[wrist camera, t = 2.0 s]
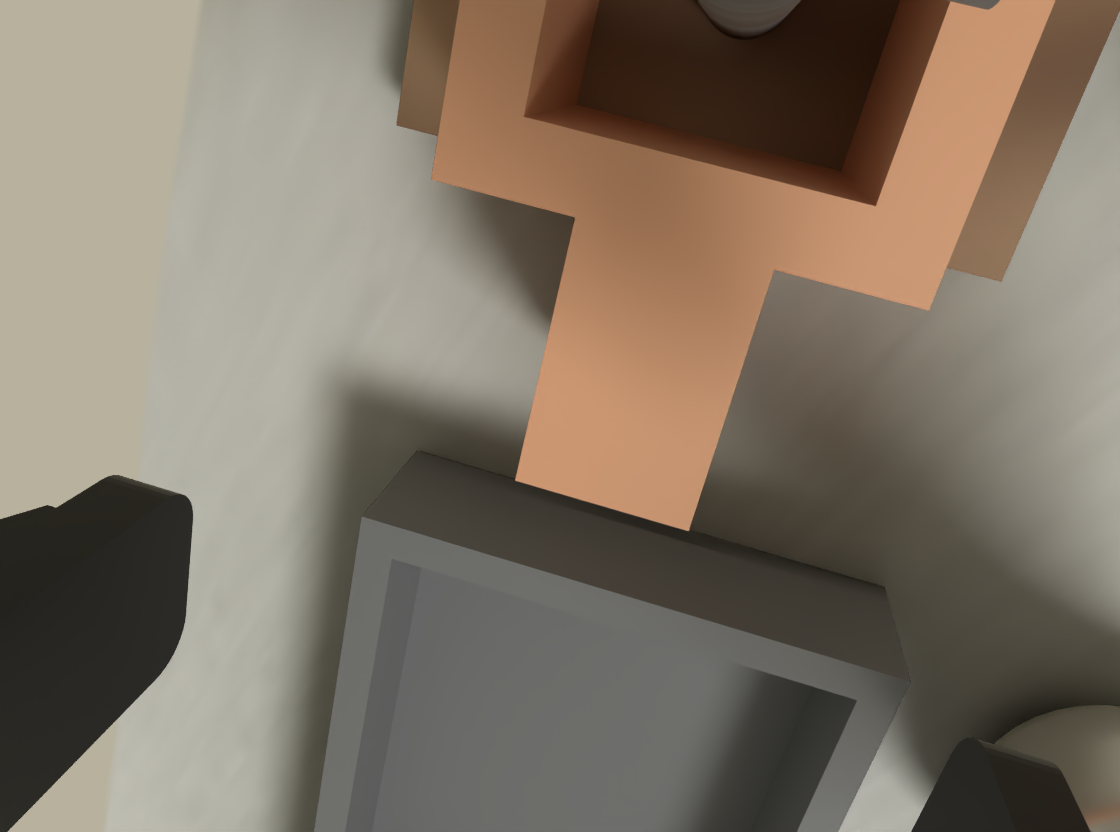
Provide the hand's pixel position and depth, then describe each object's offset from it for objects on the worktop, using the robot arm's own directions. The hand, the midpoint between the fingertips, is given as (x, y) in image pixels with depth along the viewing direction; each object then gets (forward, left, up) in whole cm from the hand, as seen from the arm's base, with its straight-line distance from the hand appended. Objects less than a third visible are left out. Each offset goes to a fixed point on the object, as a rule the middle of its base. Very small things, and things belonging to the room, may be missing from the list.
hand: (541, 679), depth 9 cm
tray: (+12, +1, -12) cm, 17 cm away
